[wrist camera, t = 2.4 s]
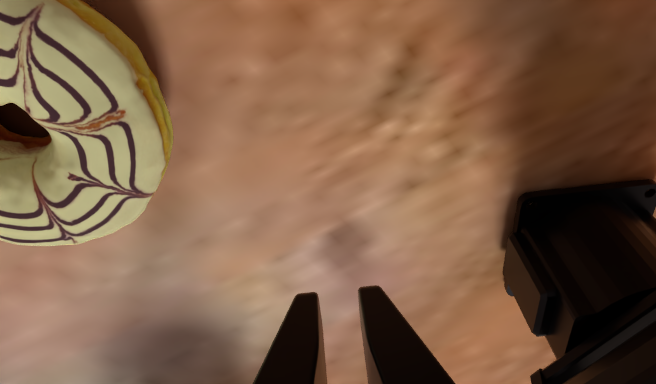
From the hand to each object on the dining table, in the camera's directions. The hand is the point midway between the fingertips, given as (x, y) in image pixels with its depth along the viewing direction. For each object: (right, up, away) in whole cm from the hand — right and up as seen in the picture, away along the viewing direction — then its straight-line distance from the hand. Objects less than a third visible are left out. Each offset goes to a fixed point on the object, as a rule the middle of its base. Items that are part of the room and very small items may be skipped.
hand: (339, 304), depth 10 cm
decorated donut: (-12, +6, +10) cm, 17 cm away
